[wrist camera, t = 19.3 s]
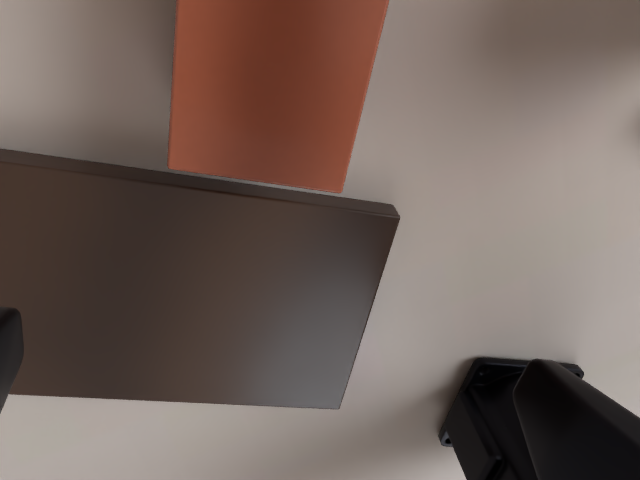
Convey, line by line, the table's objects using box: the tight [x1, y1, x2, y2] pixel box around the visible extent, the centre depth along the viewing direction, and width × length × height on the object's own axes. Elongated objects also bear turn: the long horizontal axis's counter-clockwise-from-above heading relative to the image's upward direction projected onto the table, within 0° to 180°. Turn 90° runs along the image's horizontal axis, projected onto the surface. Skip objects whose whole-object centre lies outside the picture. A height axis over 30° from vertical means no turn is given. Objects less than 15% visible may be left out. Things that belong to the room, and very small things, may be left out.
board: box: [0, 149, 400, 409], centre depth 20 cm, size 20×11×1 cm, turn 78°
